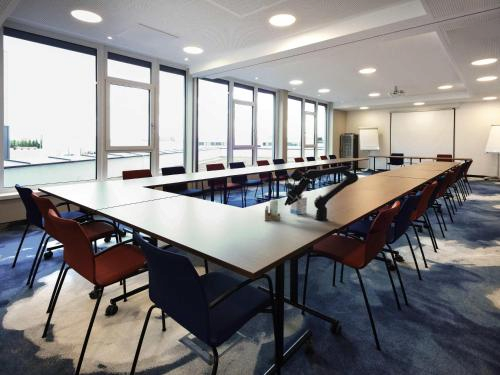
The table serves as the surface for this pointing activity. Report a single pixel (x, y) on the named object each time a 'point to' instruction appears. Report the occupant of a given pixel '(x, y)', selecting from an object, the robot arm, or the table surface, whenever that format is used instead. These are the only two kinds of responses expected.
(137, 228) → the table surface
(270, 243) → the table surface
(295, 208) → the ink box
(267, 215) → the holder
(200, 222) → the table surface
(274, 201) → the pale green tapered cylinder
